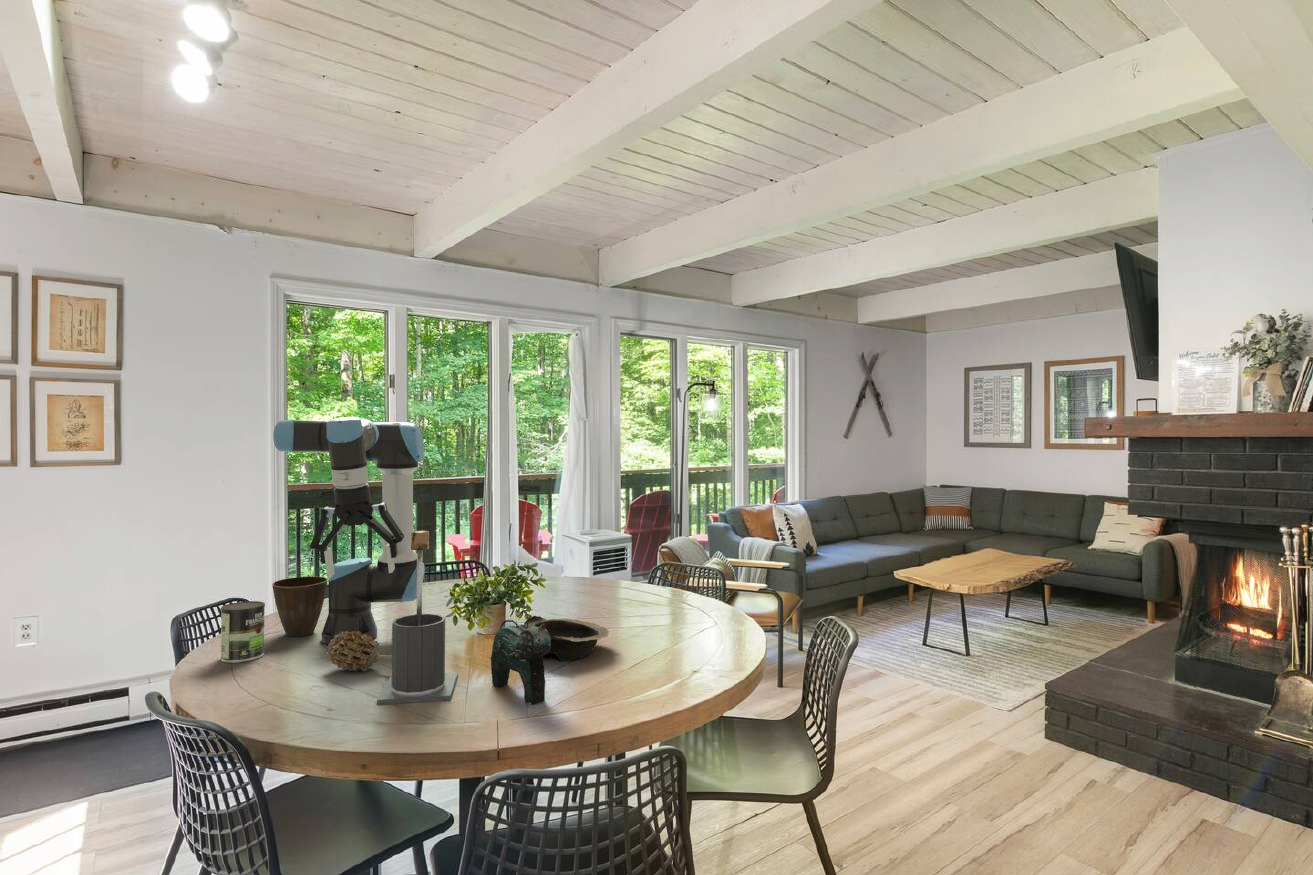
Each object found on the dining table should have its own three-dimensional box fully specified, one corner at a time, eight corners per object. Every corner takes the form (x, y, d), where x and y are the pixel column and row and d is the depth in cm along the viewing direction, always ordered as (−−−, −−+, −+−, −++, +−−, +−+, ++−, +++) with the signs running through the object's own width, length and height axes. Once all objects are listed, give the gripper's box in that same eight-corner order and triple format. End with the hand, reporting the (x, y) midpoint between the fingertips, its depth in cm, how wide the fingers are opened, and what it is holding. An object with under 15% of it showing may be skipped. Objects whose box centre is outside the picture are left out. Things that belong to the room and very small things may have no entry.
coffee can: (273, 652, 190) (273, 601, 190) (244, 664, 180) (244, 610, 180) (241, 649, 193) (242, 599, 193) (210, 661, 182) (211, 608, 182)
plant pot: (311, 641, 201) (311, 586, 201) (261, 640, 201) (261, 586, 201) (336, 627, 216) (336, 576, 216) (289, 626, 216) (289, 575, 216)
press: (391, 679, 170) (391, 611, 170) (457, 675, 173) (458, 608, 173) (376, 704, 154) (377, 628, 154) (450, 699, 157) (451, 626, 157)
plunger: (402, 639, 166) (403, 529, 166) (441, 637, 168) (442, 529, 168) (394, 650, 157) (395, 535, 157) (436, 649, 159) (437, 534, 159)
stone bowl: (501, 657, 188) (503, 622, 188) (555, 640, 210) (556, 610, 210) (576, 670, 176) (577, 634, 177) (625, 652, 198) (626, 619, 199)
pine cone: (316, 675, 173) (317, 636, 173) (338, 662, 182) (338, 625, 182) (399, 679, 170) (400, 639, 170) (417, 666, 180) (417, 628, 180)
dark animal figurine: (553, 702, 157) (553, 614, 157) (529, 709, 152) (530, 620, 152) (506, 679, 171) (506, 599, 171) (483, 686, 166) (483, 603, 166)
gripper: (287, 493, 151) (299, 584, 155) (404, 485, 155) (413, 574, 158) (299, 485, 158) (310, 572, 162) (411, 477, 162) (419, 563, 165)
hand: (361, 573), depth 160 cm, fingers open, 13 cm apart
